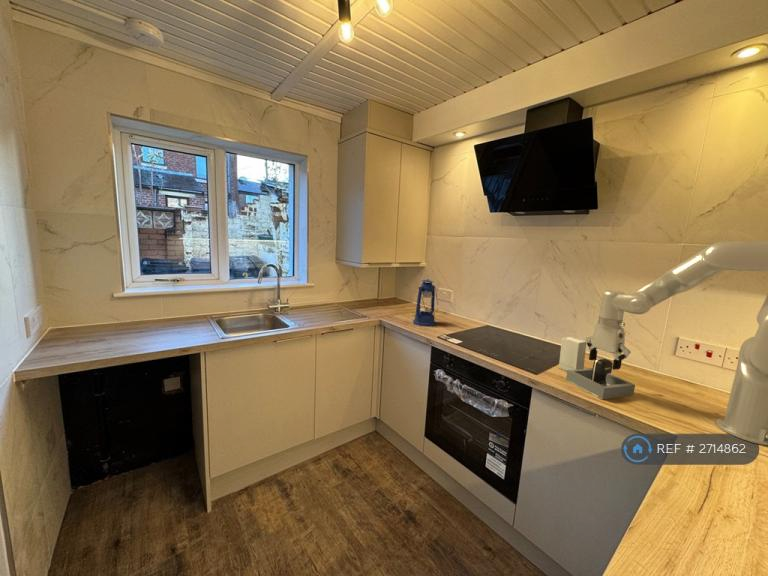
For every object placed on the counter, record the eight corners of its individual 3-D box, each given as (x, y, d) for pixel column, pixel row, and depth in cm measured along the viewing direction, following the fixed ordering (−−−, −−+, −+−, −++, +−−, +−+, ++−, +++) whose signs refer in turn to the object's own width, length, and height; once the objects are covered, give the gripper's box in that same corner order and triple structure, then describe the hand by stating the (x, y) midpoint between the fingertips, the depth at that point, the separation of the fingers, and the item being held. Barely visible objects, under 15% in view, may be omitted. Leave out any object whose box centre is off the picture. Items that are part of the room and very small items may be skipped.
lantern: (424, 319, 218) (427, 277, 214) (441, 324, 207) (445, 280, 202) (407, 322, 207) (410, 278, 202) (423, 327, 196) (427, 281, 191)
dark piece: (598, 390, 120) (603, 362, 119) (589, 385, 124) (593, 358, 122) (610, 387, 123) (615, 360, 121) (600, 383, 126) (605, 357, 125)
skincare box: (583, 373, 137) (588, 341, 135) (574, 375, 135) (580, 343, 133) (565, 366, 145) (570, 335, 143) (557, 367, 142) (561, 337, 140)
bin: (633, 395, 119) (635, 384, 118) (602, 399, 114) (604, 388, 113) (594, 377, 134) (596, 367, 133) (565, 380, 129) (567, 370, 128)
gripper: (640, 328, 112) (633, 372, 115) (596, 317, 129) (591, 356, 131) (625, 328, 110) (618, 374, 113) (582, 317, 127) (577, 357, 129)
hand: (603, 364), depth 122 cm, fingers open, 9 cm apart
